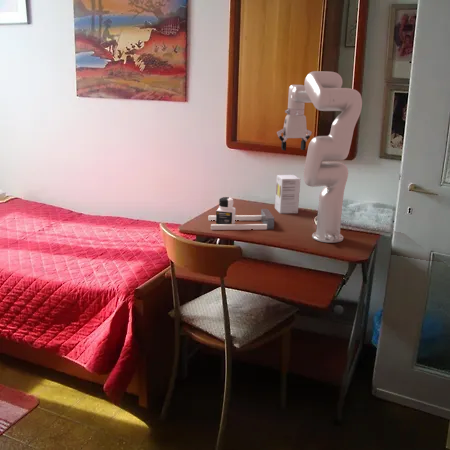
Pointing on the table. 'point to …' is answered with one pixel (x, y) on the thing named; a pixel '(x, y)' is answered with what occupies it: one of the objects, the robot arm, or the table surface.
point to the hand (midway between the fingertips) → (293, 149)
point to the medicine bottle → (225, 211)
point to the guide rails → (238, 226)
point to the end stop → (267, 218)
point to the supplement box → (287, 193)
